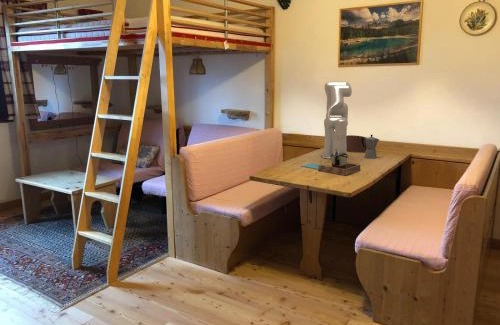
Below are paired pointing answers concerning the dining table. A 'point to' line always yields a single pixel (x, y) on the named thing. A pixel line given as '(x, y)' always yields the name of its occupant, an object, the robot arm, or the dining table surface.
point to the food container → (340, 161)
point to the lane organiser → (349, 169)
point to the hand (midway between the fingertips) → (339, 163)
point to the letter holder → (355, 144)
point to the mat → (311, 165)
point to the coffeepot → (370, 147)
